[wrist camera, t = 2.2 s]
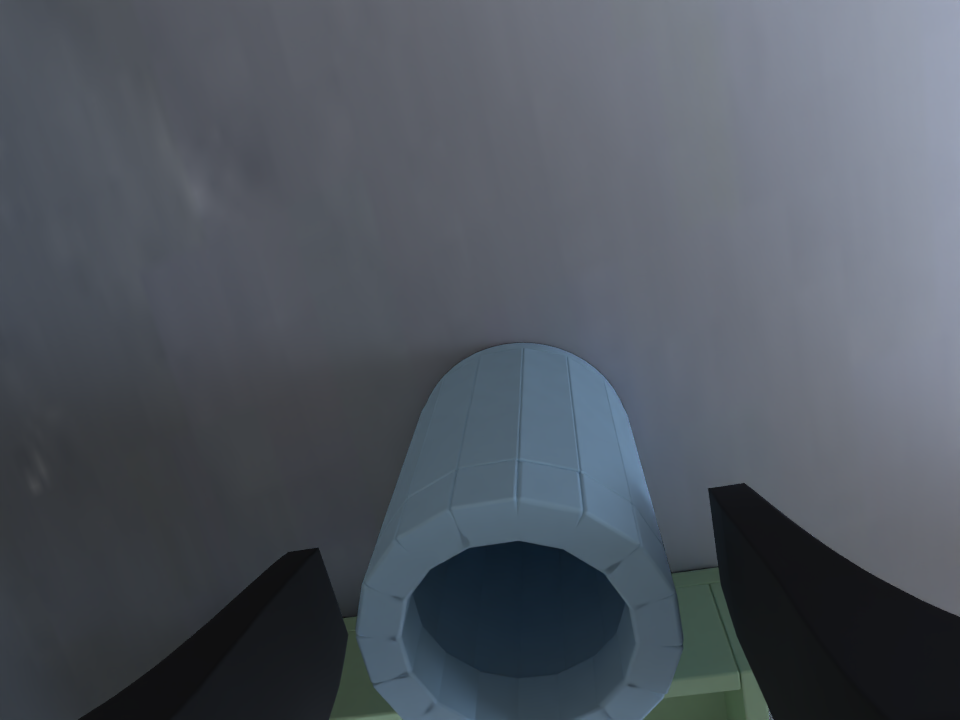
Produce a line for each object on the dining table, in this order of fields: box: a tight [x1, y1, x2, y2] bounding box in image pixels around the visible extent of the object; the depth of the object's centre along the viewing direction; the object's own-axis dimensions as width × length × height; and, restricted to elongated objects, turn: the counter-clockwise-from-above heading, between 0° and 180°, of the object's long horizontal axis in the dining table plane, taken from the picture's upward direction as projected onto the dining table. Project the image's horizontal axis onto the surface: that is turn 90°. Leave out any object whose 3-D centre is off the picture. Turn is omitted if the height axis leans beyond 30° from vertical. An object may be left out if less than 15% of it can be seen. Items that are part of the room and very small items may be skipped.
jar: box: [355, 343, 684, 720], centre depth 15 cm, size 5×5×7 cm
